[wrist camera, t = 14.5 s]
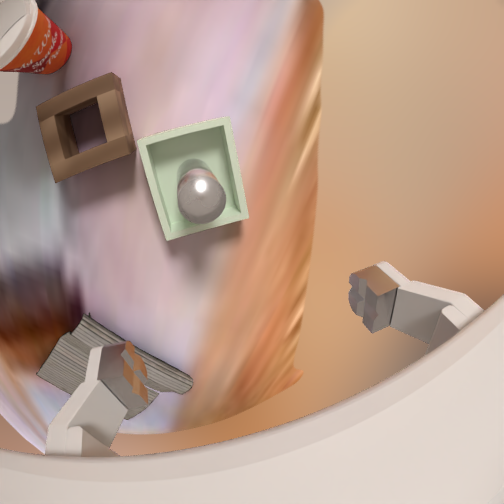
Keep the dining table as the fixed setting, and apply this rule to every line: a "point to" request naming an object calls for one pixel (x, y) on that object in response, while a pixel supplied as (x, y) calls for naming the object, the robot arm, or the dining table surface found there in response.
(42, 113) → the socket block
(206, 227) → the tray
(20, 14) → the paper cup
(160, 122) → the dining table surface
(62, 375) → the mat
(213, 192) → the steel pin
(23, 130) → the dining table surface
